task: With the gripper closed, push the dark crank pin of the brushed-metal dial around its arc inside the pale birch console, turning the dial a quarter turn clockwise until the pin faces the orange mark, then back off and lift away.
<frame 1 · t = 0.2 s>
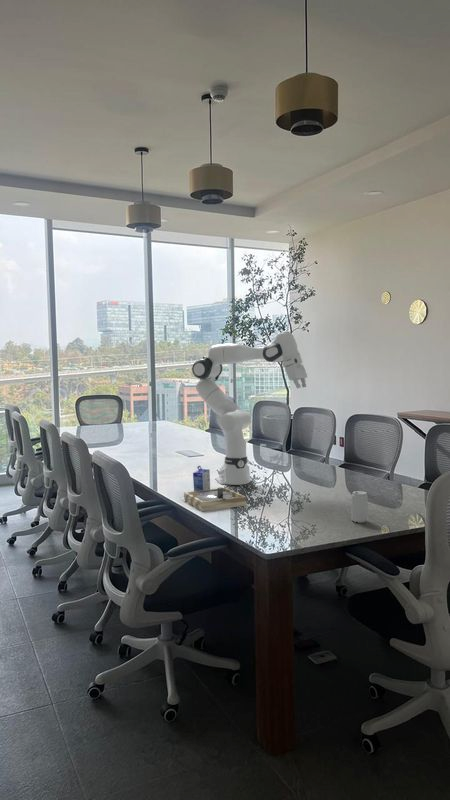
hand: (301, 387, 301), 52 cm above the table, tool tilted 20°, fingers open, 8 cm apart
dial: (214, 491, 275), point 5 cm above the table, hinge at 0.0°
beverage can: (359, 521, 241), on the table
ink cartridge box: (202, 495, 292), on the table
console: (214, 503, 275), on the table
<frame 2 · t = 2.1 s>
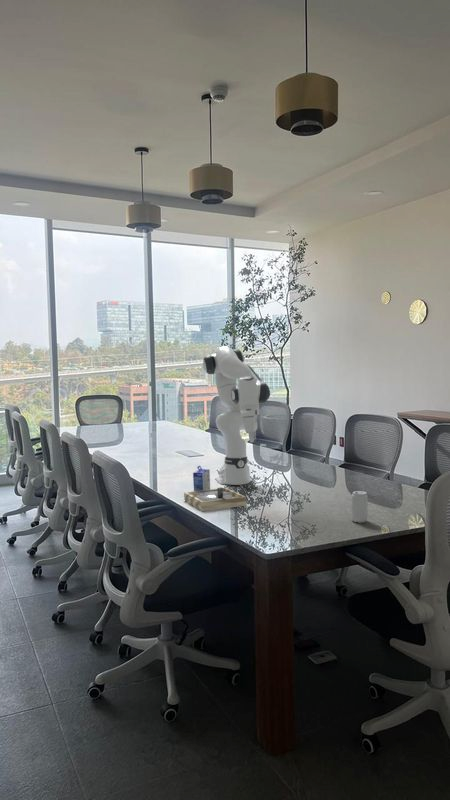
hand: (253, 441, 273), 29 cm above the table, tool pointing down, fingers open, 8 cm apart
nothing on the table moved.
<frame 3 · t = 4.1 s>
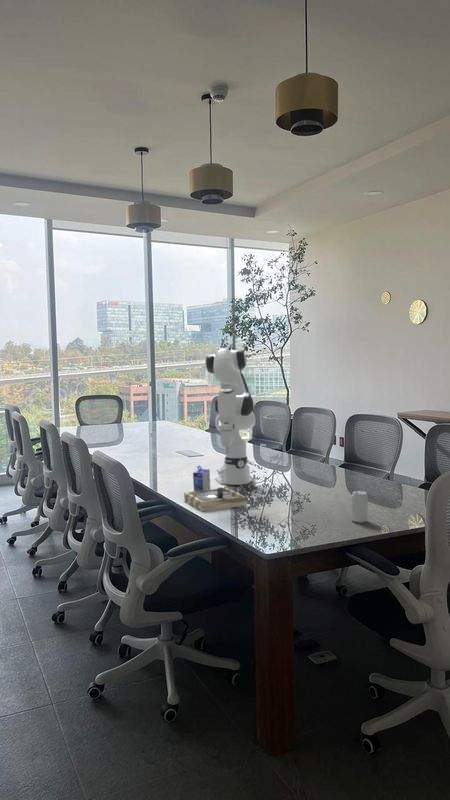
hand: (228, 453, 273), 23 cm above the table, tool pointing down, fingers closed
nothing on the table moved.
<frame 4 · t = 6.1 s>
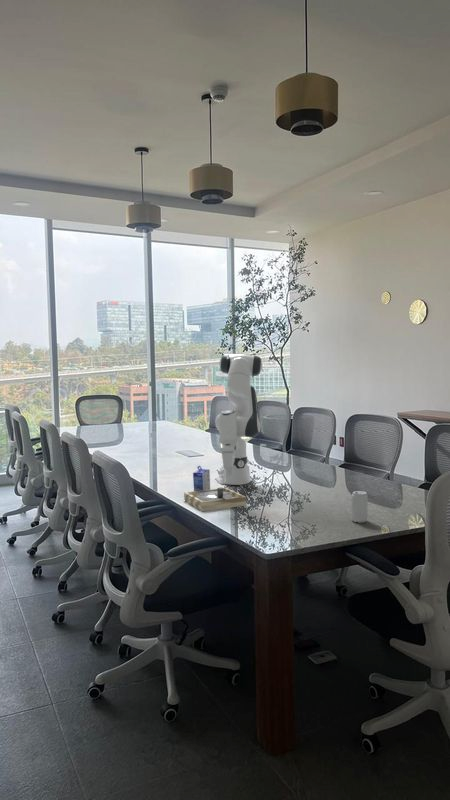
hand: (229, 475, 273), 13 cm above the table, tool pointing down, fingers closed
nothing on the table moved.
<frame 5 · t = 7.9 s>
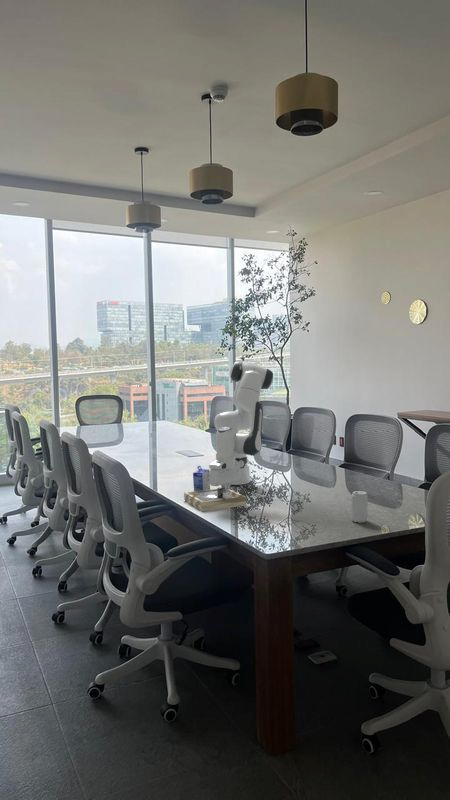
hand: (226, 492, 271), 6 cm above the table, tool pointing down, fingers closed
dial: (214, 491, 275), point 5 cm above the table, hinge at 0.0°, touching gripper
everything else where it was.
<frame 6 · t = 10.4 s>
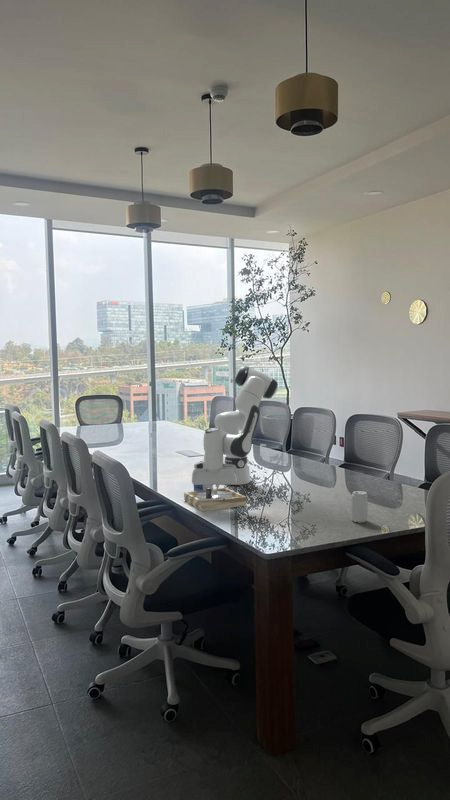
hand: (214, 494, 268), 6 cm above the table, tool pointing down, fingers closed
dial: (214, 491, 275), point 5 cm above the table, hinge at -47.6°, touching gripper
everything else where it was.
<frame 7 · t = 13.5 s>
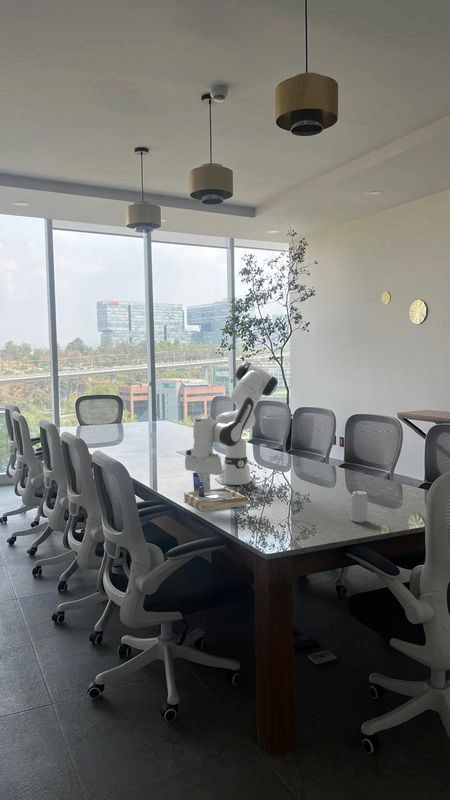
hand: (203, 482, 270), 11 cm above the table, tool pointing down, fingers closed
dial: (214, 491, 275), point 5 cm above the table, hinge at -95.0°
everything else where it was.
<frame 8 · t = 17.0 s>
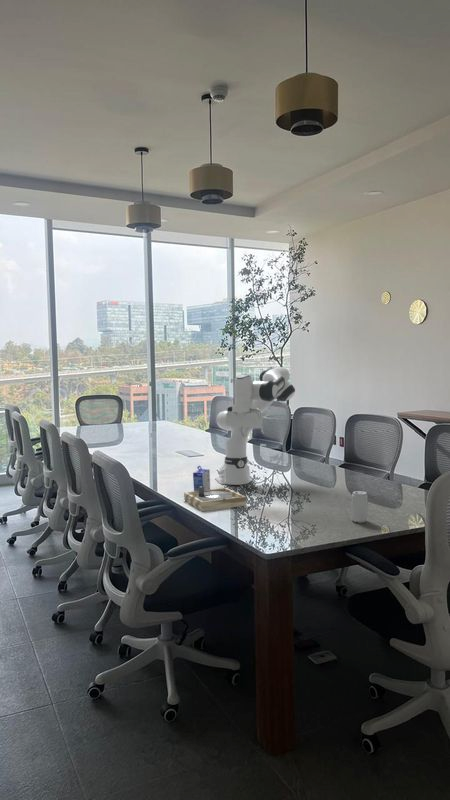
hand: (243, 436, 288), 29 cm above the table, tool pointing down, fingers closed
nothing on the table moved.
at the end: dial at -95° (first picture: +0°); the gripper is holding nothing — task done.
